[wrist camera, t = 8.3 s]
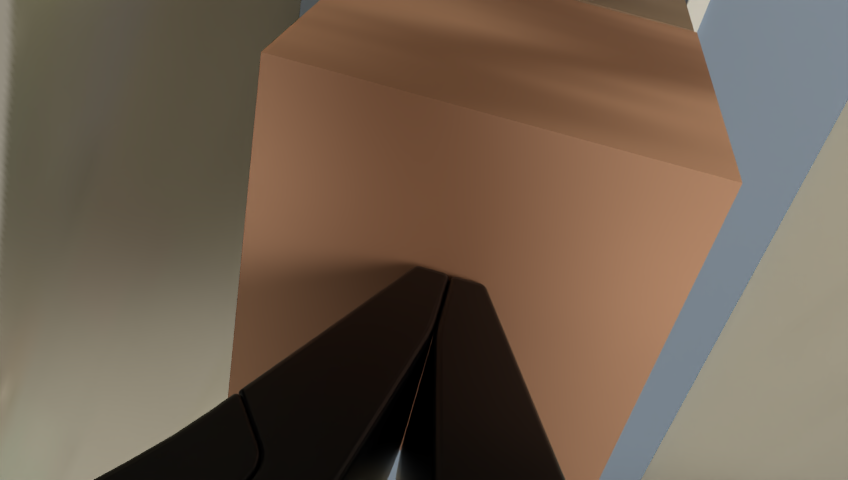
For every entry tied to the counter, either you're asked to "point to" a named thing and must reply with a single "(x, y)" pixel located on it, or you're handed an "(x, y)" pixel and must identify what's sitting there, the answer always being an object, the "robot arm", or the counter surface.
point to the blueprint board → (742, 177)
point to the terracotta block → (488, 187)
